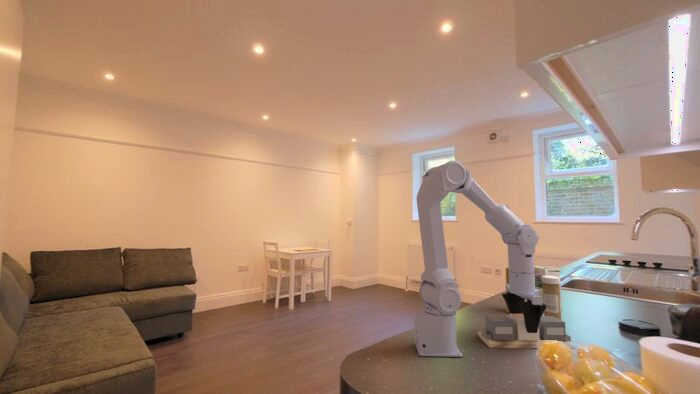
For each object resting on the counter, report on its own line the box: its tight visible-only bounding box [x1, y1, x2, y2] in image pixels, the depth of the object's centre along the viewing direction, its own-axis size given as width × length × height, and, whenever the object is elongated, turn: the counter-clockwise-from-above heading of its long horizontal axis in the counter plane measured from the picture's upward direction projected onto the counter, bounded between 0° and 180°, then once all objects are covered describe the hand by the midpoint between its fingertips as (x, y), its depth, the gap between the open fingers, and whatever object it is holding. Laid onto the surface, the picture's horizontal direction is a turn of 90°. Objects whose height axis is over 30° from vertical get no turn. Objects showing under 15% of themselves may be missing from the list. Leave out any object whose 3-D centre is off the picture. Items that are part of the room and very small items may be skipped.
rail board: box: [477, 314, 574, 349], centre depth 77 cm, size 20×8×6 cm, turn 87°
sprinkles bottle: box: [542, 276, 562, 320], centre depth 93 cm, size 5×5×13 cm
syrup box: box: [534, 265, 563, 313], centre depth 105 cm, size 6×6×14 cm
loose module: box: [508, 313, 540, 341], centre depth 78 cm, size 5×4×5 cm
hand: (523, 327), depth 78 cm, fingers open, 7 cm apart
